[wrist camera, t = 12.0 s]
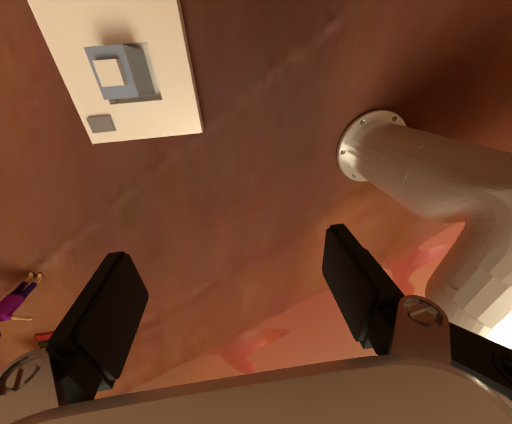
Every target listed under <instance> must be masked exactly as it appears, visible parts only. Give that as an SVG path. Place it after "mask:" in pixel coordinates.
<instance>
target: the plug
mask: <svg viewBox="0 0 512 424" xmlns="http://www.w3.org/2000/svg"><path fill="white" fill-rule="evenodd" d="M84 49H85V52H86V55H87V57H88V60H89V62H90V65H91V68H92V70H93V73H94V75H95V78H96V80H97V83H98V86H99V88H100V91H101V93H102V96H103V98H104V100H110V99H121V98H132V97H141V96H146V95H151V94H155V90H154V86H153V83H152V79H151V76H150V72H149V68H148V65H147V61H146V57H145V54H144V51H141V50H138V49H135V48H133V47H130V46H127V45H124V44H118V45H105V46H92V47H84Z"/></svg>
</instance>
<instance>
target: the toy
mask: <svg viewBox="0 0 512 424" xmlns="http://www.w3.org/2000/svg"><path fill="white" fill-rule="evenodd" d="M33 279H34V274H33V273H32V272H30V273H29V276H28V277H27V278H26V279H25V280H24V281H23V282H22V283H21V284H20V285H19V286H18V287H17V288H16V289H15V290H14V291H12V292H11V293H10V294H8V295H7V296H6V297H5V298H4V299H3V300H1V301H0V321H6V320H10V319H16V320H32V319H33V317H25V316H14V315H12V314H13V313H14V312H15V311H16V309H17V308H18V307H19V306H20V305H21V304H22V303H23V302H24V300H25V298H26V297H27V296H28V295H29V293H30V292H31V291H32V290H33V289H34V288H35V287H36V286H37V284H38V283H39V282H40V281H41V280H42V279H43V276H42V274H41V273H38V276H37V278H36V279H35V280H34V281H33V282H32V283H31V284H30V285H29V286H28V287H27V288H26V286H27V285H28V284H29V283H30V282H31V281H32V280H33ZM25 288H26V289H25ZM24 289H25V290H24ZM0 336H1V333H0Z"/></svg>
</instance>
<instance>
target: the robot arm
mask: <svg viewBox="0 0 512 424" xmlns="http://www.w3.org/2000/svg"><path fill="white" fill-rule="evenodd" d="M341 151H342V152H341ZM337 163H338V166H339V168H340V170H341V171H342V172H343V173H344V174H345V175H346V176H347V177H348V178H350V179H352V180H355V181H369V182H370V183H372V184H373V185H375V186H376V187H377V188H379V189H380V190H381V191H383V192H384V193H386V194H387V195H388V196H390V197H391V198H393V199H394V200H395V201H397V202H398V203H399V204H401V205H402V206H404V207H405V208H406V209H408V210H409V211H411V212H412V213H414V214H415V215H417V216H418V217H420V218H422V219H425V220H428V221H432V222H438V223H458V222H465V226H464V229H463V230H462V231H461V233H460V235H459V236H458V238H457V240H456V242H455V243H454V244H453V246H452V247H451V249H450V250H449V251H448V253H447V254H446V255H445V257H444V258H443V260H442V261H441V262H440V264H439V265H438V267H437V268H436V270H435V271H434V273H433V274H432V275H431V277H430V279H429V281H428V282H427V285H426V289H425V298H424V297H421V296H417V295H407V296H405V295H404V294H403V293H402V292H401V290H400V289H399V288H398V287H397V286H396V284H395V283H394V282H393V281H392V279H391V278H390V277H389V276H388V275H387V273H386V272H385V271H384V270H383V268H382V267H381V266H380V265H379V264H378V262H377V261H376V260H375V259H374V257H373V256H372V255H371V254H370V253H369V251H368V250H366V249H364V248H363V247H362V246H361V245H360V243H359V242H358V241H357V240H356V238H355V237H354V236H353V235H352V233H351V232H350V231H349V230H348V228H347V227H346V226H345V225H344V224H335V225H331V226H330V228H328V229H327V230H326V238H325V247H324V256H323V265H322V272H323V275H324V278H325V280H326V282H327V284H328V286H329V288H330V290H331V292H332V294H333V296H334V298H335V300H336V302H337V304H338V306H339V308H340V310H341V313H342V315H343V317H344V319H345V320H346V323H347V325H348V326H349V329H350V331H351V333H352V335H353V337H354V339H355V340H356V341H357V342H359V341H360V343H361V345H362V347H363V349H368V348H373V349H374V351H375V353H376V354H378V356H367V357H359V358H352V359H345V360H337V361H330V362H323V363H317V364H310V365H304V366H298V367H292V368H284V369H278V370H271V371H265V372H258V373H252V374H246V375H240V376H233V377H227V378H221V379H215V380H208V381H203V382H196V383H190V384H184V385H178V386H172V387H165V388H160V389H154V390H148V391H141V392H135V393H129V394H123V395H117V396H112V397H106V398H101V399H95V400H94V397H95V395H96V393H97V391H104V390H110V389H112V388H113V385H114V383H115V380H116V379H118V378H119V377H120V375H121V373H122V370H123V367H124V365H125V362H126V359H127V356H128V354H129V351H130V348H131V345H132V343H133V340H134V337H135V334H136V332H137V329H138V326H139V323H140V321H141V318H142V315H143V312H144V310H145V307H146V304H147V301H148V291H147V289H146V287H145V285H144V283H143V281H142V279H141V277H140V275H139V273H138V271H137V269H136V267H135V265H134V263H133V261H132V259H131V257H130V255H129V254H126V253H125V252H114V253H109V254H108V255H107V256H106V257H105V259H104V260H103V262H102V263H101V264H100V266H99V267H98V269H97V270H96V272H95V273H94V275H93V276H92V277H91V279H90V280H89V282H88V283H87V285H86V286H85V288H84V289H83V290H82V292H81V293H80V295H79V296H78V298H77V299H76V301H75V302H74V304H73V305H72V306H71V308H70V309H69V311H68V312H67V314H66V315H65V317H64V318H63V319H62V321H61V322H60V324H59V325H58V327H57V328H56V330H55V331H54V332H53V334H52V335H51V337H50V338H49V340H48V341H47V343H48V346H47V347H46V349H45V350H42V349H39V350H33V351H30V352H27V353H25V354H23V355H21V356H19V357H18V358H16V359H15V360H13V361H12V362H11V363H9V364H8V365H7V366H6V367H5V368H4V369H3V370H2V371H1V372H0V424H512V153H511V152H506V151H501V150H496V149H492V148H488V147H484V146H480V145H476V144H472V143H468V142H464V141H460V140H456V139H452V138H448V137H444V136H441V135H437V134H433V133H429V132H425V131H422V130H418V129H414V128H410V127H406V124H405V122H404V120H403V119H402V118H401V117H400V116H399V115H398V114H396V113H394V112H391V111H387V110H374V111H371V112H367V113H365V114H363V115H361V116H360V117H358V118H357V119H356V120H354V121H353V122H352V123H351V124H350V125H349V126H348V127H347V129H346V130H345V131H344V133H343V135H342V136H341V138H340V141H339V144H338V147H337Z"/></svg>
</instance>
